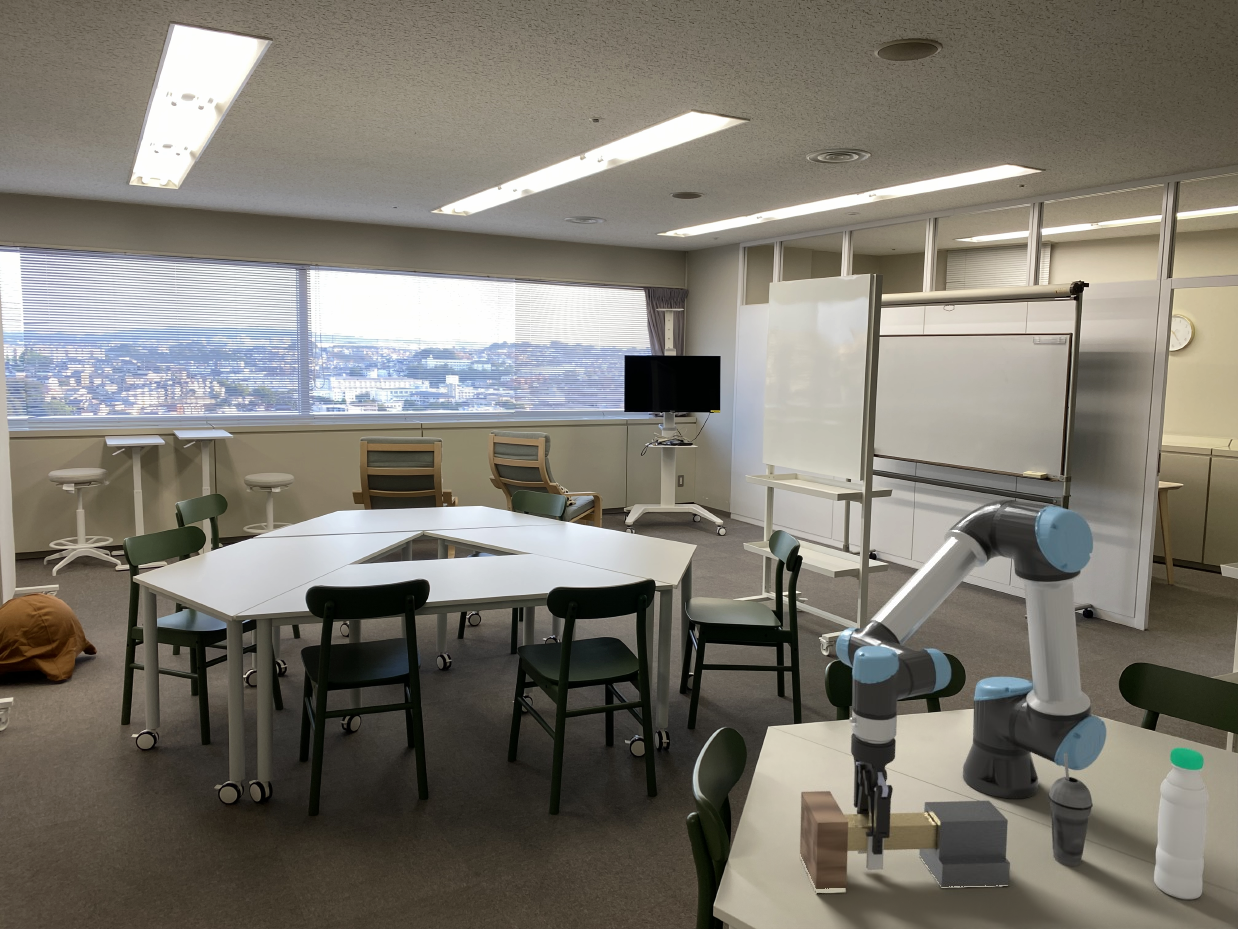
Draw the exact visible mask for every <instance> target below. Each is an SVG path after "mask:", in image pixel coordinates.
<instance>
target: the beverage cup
mask: <svg viewBox="0 0 1238 929" xmlns="http://www.w3.org/2000/svg"><path fill="white" fill-rule="evenodd" d="M1064 760H1065V767H1064V771H1065V776H1062V777H1060V778H1057V779H1056V780H1055V781H1054V782H1053V783H1052V784H1051V786H1050V789H1049V793H1048V800H1049V806H1050V814H1051V817H1050V818H1051V834H1052V835H1051V837H1052V853H1053V859H1054V858H1055V859H1054V860H1055V861H1056V862H1058V863H1059V862H1060V863H1059V864H1062V865H1063V866H1064V865H1065V866H1068V867H1078V866H1080V865H1081V863H1082V856H1083V854H1084V848H1085V841H1086V836H1087V835H1086V834H1087V829H1088V825H1089V823H1088V822H1089V817H1090V815H1091V812H1092V808H1093V805H1094V804H1093V799H1092V794H1091V791H1090V789H1089V788H1088V786H1087V785H1086V784H1085V783H1084V782H1083V781H1081V780H1080V779H1078V778H1077V777H1072V776H1070V774H1069V768H1068V759H1067V754H1064Z"/></svg>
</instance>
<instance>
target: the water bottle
mask: <svg viewBox="0 0 1238 929" xmlns="http://www.w3.org/2000/svg"><path fill="white" fill-rule="evenodd" d="M1169 757H1170V758H1169V759H1170V765H1171V766H1172V769H1171V770H1170V771H1169V772H1168V773H1167V776H1166V777H1165V778H1164V779H1163V781H1162V782H1161V784H1160V788H1159V792H1160V795H1161V796H1160V801H1159V807H1158V816H1157V845H1156V849H1155V866H1154V872H1153V881H1154V884H1155V885H1156V887H1157V888H1158V889H1159V890H1161V891H1162V892H1163V893H1165V894H1167V895H1168V896H1171V897H1173V898H1177V899H1180V900H1195V899H1198V898H1199V897H1201V895H1202V893H1203V872H1204V866H1205V860H1204V859H1205V858H1204V853H1205V847H1206V841H1207V839H1206V838H1207V829H1208V804H1209V802H1210V801H1209V800H1210V796H1209V792H1208V790H1207V788H1206V786H1205V784H1204V781H1203V778H1202V777H1201V776H1200V772H1202V770H1203V768H1204V764H1205V761H1204V756H1203V755H1202V753H1200V752H1198V751H1197V750H1193V749H1190V748H1187V747H1174V748H1172V749H1171V751H1170V756H1169Z"/></svg>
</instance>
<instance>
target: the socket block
mask: <svg viewBox="0 0 1238 929" xmlns="http://www.w3.org/2000/svg"><path fill="white" fill-rule="evenodd" d="M800 793H801V795H800V799H801V800H800V834H799V835H800V838H799V839H800V842H799V855H800V854H801V857H802V859H803V861H804V863H805V865H806V868H807V870H808V872H809V874H810V876H811V879H812V881H813V883H814V885H815V888H816V889H825V888H826V889H827V888H828V889H829V888H846V889H847V884H848V882H847V880H848V879H847V878H848V876H847V874H848V851H847V849H848V821H847V819H846V817H845V816H844V812H843V811H842V809H841V808H840V806H839V803H838V802H837V800H836V799H835V797H834V796H833V793H831V791H830V790H828V791H827V790H826V791H825V790H823V791H818V790H817V791H816V790H815V791H801V792H800Z"/></svg>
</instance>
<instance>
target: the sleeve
mask: <svg viewBox="0 0 1238 929" xmlns="http://www.w3.org/2000/svg"><path fill="white" fill-rule="evenodd" d="M926 812H929V814H930V815H931V816H932V817H933V819H934V820H935V821H936V823H937V824H938V836H937V849H919V852H918V855H920V856H921V858H922V859H923V861H924V862H925V864H926V865H927V866H928V868H929V869H930V871H931V872H932V874H933V875H934V876H935V878H936V879H937V881H938V882H939V884H940V885H941V887H949V886H950V887H951V886H953V887H954V886H960V887H961V886H963V887H964V886H985V885H986V886H996V885H998V886H999V885H1009V886H1010V872H1011V870H1010V869H1011V862H1010V861H1009V860H1008V859H1007V841H1008V839H1007V838H1008V824H1009V823H1008V822H1009V821H1008V818H1006V817H1005V816H1004V814H1002V813H1001V811H1000V810H999V809H998V808H997V807H996V806H995V805H994V804H993V803H992V802H991V801H990V800H964V801H963V800H959V801H956V800H954V801H924V811H923V813H926ZM925 864H924V865H925ZM941 887H940V888H941Z"/></svg>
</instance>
